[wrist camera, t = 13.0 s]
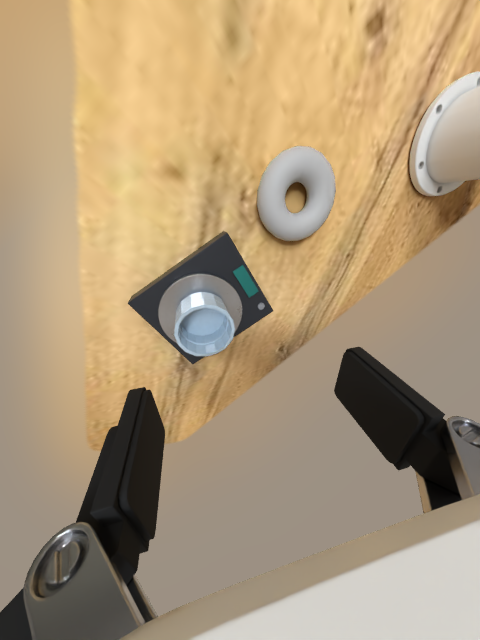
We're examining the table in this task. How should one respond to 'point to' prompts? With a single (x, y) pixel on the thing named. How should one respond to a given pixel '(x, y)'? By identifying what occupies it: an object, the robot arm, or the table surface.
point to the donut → (277, 179)
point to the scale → (214, 260)
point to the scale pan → (195, 285)
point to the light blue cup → (203, 324)
